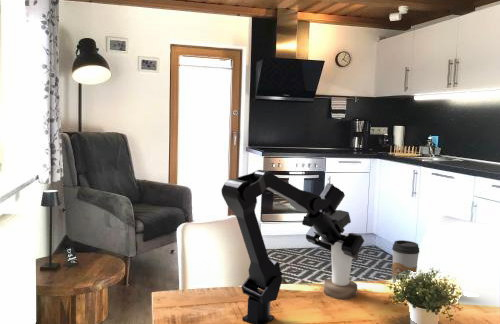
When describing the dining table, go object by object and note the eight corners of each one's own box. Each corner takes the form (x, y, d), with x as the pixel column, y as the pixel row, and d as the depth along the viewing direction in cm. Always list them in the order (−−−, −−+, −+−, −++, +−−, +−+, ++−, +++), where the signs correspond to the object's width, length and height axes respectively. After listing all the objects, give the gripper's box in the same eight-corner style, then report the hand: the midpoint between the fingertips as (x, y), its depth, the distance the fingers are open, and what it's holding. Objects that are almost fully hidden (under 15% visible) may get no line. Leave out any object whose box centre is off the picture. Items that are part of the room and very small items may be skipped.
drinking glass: (355, 287, 139) (357, 239, 137) (334, 288, 137) (336, 239, 136) (345, 279, 145) (348, 233, 144) (325, 280, 144) (328, 233, 142)
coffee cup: (384, 287, 147) (387, 242, 146) (398, 282, 153) (401, 238, 152) (408, 295, 141) (411, 248, 140) (421, 289, 147) (424, 244, 145)
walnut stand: (349, 302, 134) (350, 292, 134) (318, 294, 140) (319, 284, 140) (361, 292, 143) (361, 282, 142) (331, 284, 148) (332, 275, 148)
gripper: (362, 208, 129) (382, 241, 137) (313, 197, 143) (335, 228, 151) (342, 239, 125) (365, 271, 133) (294, 225, 139) (317, 254, 147)
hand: (345, 254), depth 141 cm, fingers open, 9 cm apart
